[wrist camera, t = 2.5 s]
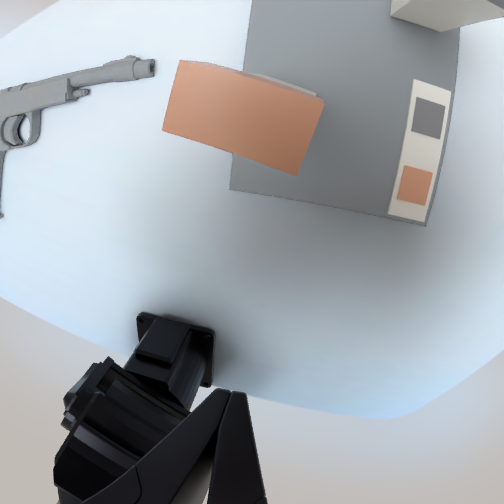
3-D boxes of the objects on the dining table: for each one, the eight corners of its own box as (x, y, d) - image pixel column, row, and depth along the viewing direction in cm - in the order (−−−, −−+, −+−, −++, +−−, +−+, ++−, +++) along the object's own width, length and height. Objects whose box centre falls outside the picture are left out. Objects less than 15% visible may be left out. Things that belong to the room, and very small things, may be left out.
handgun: (148, 239, 21) (143, 50, 15) (-36, 222, 23) (-50, 107, 18) (162, 225, 23) (160, 54, 18) (-20, 213, 25) (-32, 103, 20)
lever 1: (309, 121, 16) (296, 176, 7) (248, 100, 16) (161, 130, 7) (321, 91, 15) (324, 104, 6) (259, 69, 15) (180, 59, 6)
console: (421, 222, 18) (427, 228, 17) (232, 186, 20) (228, 190, 18) (454, 17, 12) (462, 13, 11) (258, -25, 14) (255, -32, 13)
